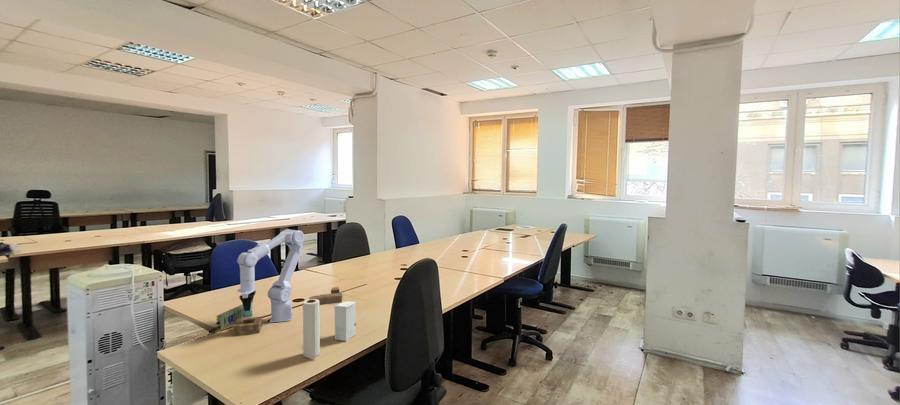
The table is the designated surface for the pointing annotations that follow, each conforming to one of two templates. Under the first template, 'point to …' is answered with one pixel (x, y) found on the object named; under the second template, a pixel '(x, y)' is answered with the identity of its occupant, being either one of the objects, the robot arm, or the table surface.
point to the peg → (248, 312)
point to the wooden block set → (329, 297)
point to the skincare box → (345, 320)
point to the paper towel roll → (311, 328)
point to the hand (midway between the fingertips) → (248, 309)
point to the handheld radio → (229, 318)
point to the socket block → (248, 326)
